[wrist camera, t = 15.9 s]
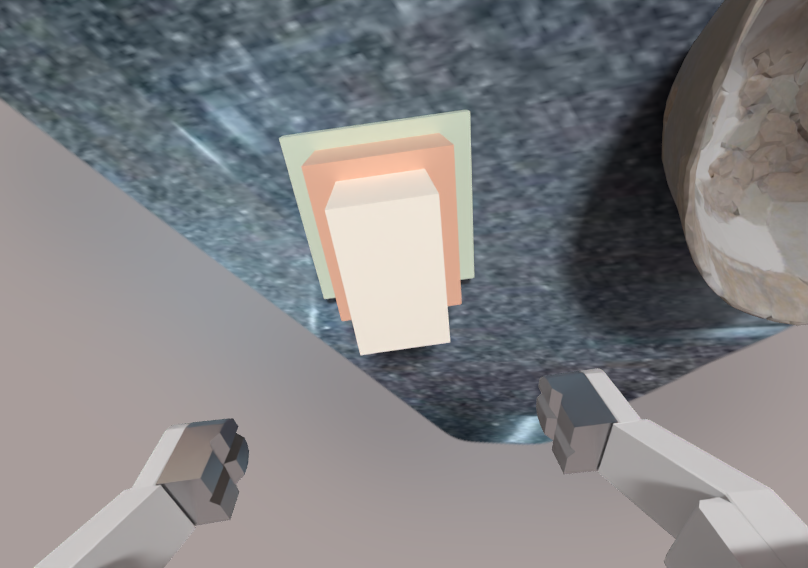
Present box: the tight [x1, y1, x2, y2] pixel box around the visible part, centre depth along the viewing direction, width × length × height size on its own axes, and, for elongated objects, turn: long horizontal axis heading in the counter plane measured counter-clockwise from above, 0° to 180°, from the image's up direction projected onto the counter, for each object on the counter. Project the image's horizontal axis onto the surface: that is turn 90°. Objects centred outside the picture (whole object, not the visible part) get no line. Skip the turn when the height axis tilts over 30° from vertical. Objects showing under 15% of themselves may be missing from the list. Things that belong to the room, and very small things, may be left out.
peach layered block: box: [279, 110, 474, 321], centre depth 23 cm, size 12×12×6 cm
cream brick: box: [325, 169, 450, 355], centre depth 19 cm, size 8×5×5 cm, turn 7°
